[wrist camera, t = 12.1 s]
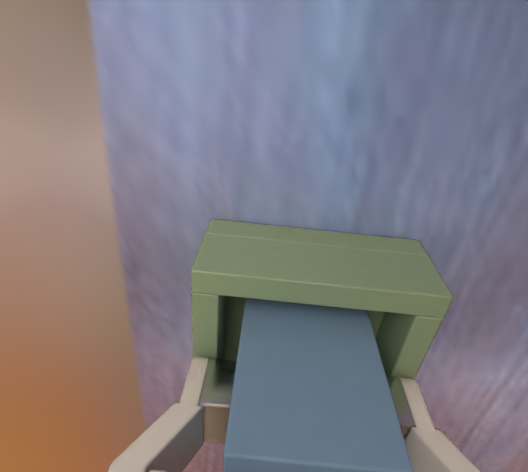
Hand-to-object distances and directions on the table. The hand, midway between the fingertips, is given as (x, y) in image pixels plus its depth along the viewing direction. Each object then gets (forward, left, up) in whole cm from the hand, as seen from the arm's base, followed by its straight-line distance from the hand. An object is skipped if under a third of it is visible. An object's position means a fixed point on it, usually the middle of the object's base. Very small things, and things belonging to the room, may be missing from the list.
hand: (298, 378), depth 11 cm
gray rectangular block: (0, 0, -2) cm, 2 cm away
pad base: (0, 0, -3) cm, 3 cm away
